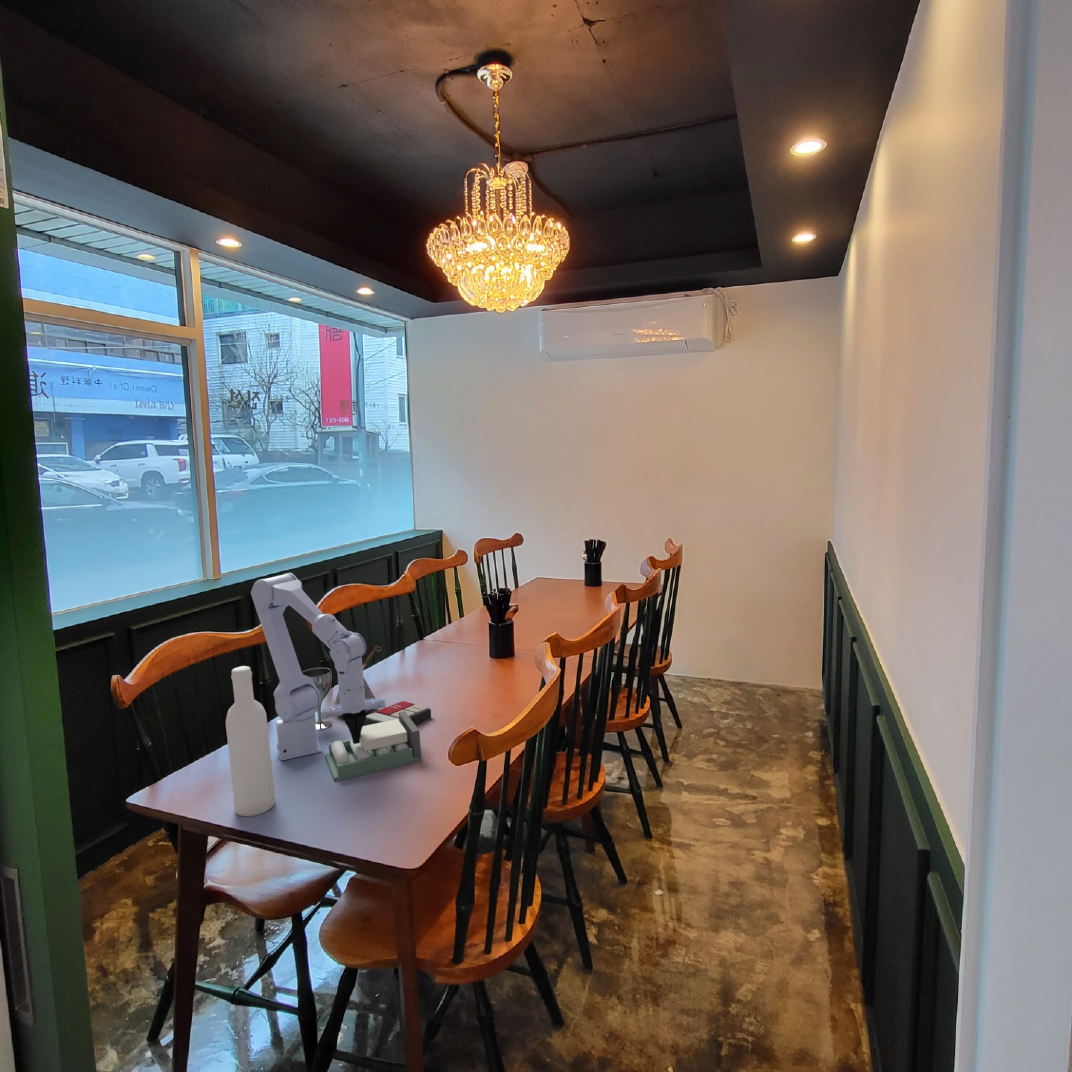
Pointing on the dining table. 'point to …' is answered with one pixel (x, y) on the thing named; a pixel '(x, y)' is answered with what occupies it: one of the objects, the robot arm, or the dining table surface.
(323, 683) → the wine glass
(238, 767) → the bottle
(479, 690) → the dining table surface
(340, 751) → the roller frame
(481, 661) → the dining table surface
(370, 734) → the board
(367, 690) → the coffee pot
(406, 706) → the calculator
